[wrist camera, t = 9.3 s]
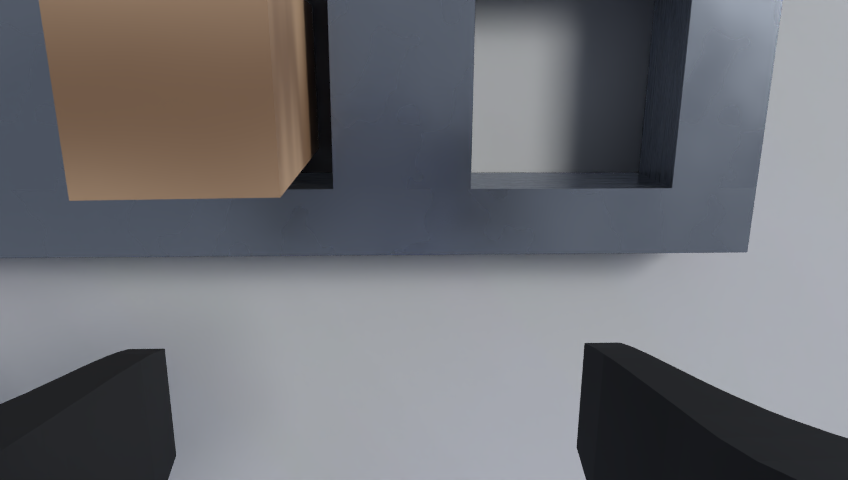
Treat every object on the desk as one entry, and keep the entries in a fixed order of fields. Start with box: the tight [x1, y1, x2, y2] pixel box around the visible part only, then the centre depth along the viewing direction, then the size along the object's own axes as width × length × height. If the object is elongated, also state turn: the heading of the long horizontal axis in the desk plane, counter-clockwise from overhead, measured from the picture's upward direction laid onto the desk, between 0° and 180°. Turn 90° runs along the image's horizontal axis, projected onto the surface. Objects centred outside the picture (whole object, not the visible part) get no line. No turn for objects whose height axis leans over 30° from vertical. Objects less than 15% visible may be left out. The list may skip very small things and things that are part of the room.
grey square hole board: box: [0, 0, 783, 258], centre depth 18 cm, size 9×28×2 cm, turn 90°
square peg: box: [39, 0, 319, 201], centre depth 16 cm, size 4×4×7 cm
